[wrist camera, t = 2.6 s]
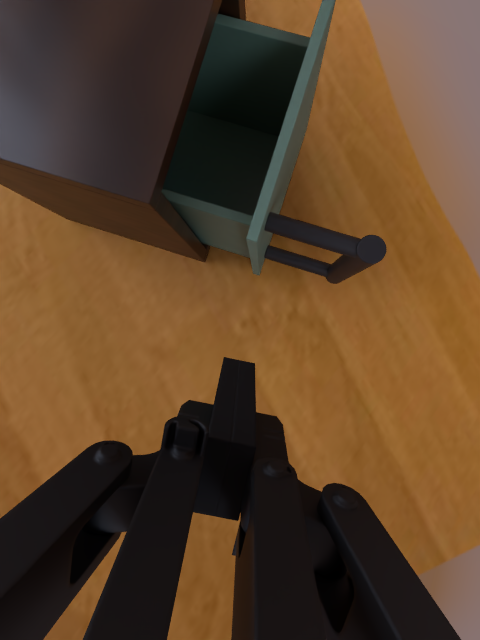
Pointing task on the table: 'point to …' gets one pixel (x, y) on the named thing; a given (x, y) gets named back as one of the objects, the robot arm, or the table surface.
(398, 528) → the table surface
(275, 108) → the green drawer
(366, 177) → the table surface
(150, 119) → the box
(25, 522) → the robot arm
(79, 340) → the table surface
